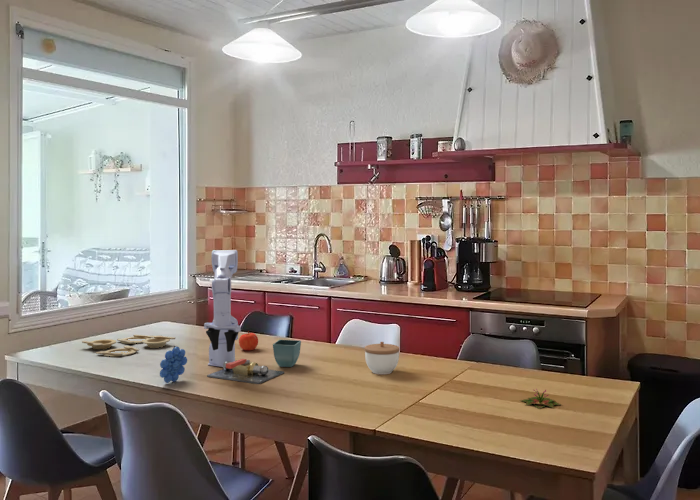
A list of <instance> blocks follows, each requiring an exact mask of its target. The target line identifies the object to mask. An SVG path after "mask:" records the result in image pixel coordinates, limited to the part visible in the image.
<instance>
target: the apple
mask: <svg viewBox="0 0 700 500" xmlns="http://www.w3.org/2000/svg"><path fill="white" fill-rule="evenodd" d="M238 344H239V347H240V348H241V349H242V350H243V351H248V352H249V351H250V352H251V351H254V350H255V349H256V348H257V347H258V345H259V337H258V335H256V333H254V332H250V331H249V330H248V331H247V333H244V334H241V335H240V336H239V337H238Z"/></svg>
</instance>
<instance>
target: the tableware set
mask: <svg viewBox="0 0 700 500" xmlns="http://www.w3.org/2000/svg"><path fill="white" fill-rule="evenodd" d="M128 339H145V340H142V341H130V340H128ZM171 340H176V337H175V336H164V335H145V334H132V336H128V337H124V338H117V339H116V340H115V339H110V338H109V339H106V338H103V339H96V340H91V341H88V340H81V343H82V344H85V345H86V346H89V347H92V349H93V350H95V349H103V350H98V351H96V352H95V354H98V355H103V356H104V357H109V356H110V357H112V358H113V357H114V358H115V357H126V356H131V355H133V354H134V355H135V354H136V352H139V351H140V349H139V348H137V347H134V346H130V345H133V344H135V345H136V343H137V344H144V345H146V346H147V347H148V348H149V347H150V348H149V349H159V347H161V348H164V347H165V346H166V344H167V343H168V342H171ZM117 341H119V342H120V343H121V344H124V346H123V347H122V348H121V347H120V348H111V349H110V347H112V346H113V345H115V344H116V343H117ZM125 344H126V345H125ZM127 344H128V345H127ZM163 346H164V347H163ZM107 348H109V349H107ZM115 351H128V352H129V353H128V352H127V353H125V352H124V353H123V352H121V353H111V352H115ZM110 357H109V358H110Z"/></svg>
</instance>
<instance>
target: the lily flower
mask: <svg viewBox="0 0 700 500" xmlns="http://www.w3.org/2000/svg"><path fill="white" fill-rule="evenodd" d="M533 391H534V392H535V394H533V395H534V396H531V397H528V399H520V400H519V401H520V402H524V403H525V406H529V405H532V404H533V406H534V407H536V408H537V409H538V410H540V409H541V408H544V407H546V406H547V407H549V408H552V409H554V406H562V404H561V403H559V402H555V401H554V399H552V398H550V397H548V396H549V394H546V392H547V389H544V391H543V392H541V393H540V392H539V391H538V389H537V388H535V389H533ZM542 403H543V404H542ZM539 404H542V405H541V406H540V405H539Z"/></svg>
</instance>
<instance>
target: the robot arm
mask: <svg viewBox="0 0 700 500" xmlns="http://www.w3.org/2000/svg"><path fill="white" fill-rule="evenodd" d="M238 253H239V252H238V250H237V249H228V250H227V249H226V250H225V249H224V250H223V249H222V250H221V249H216V250H215V249H213V250H212V251H211V266H212V271H213V273H214V277H213V279H212V280H211V292H212V301H213V319H212V322H204V324H203V329H205V330H206V331H205V334H206V336H207V337H208V339H209V340H210V343H209V347H208V363H207V365H208V366H215V367H222V368H223V363H224V362H225V361H230V362H234V361H236V346H235V345H236V344H235V343H236V341H237V340H239V333H240V332H241V331H242V329H241V328H242V325H239V323H238V319H237V318H235V317H234V316H233V315H232V314H231V312H232V311H231V309H232V308H231V306H232V305H231V304H232V298H231V296H232V278H233V274H236V273H237V272H238V264H239V263H238V262H239V261H238V260H239V259H238V255H239V254H238Z"/></svg>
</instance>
